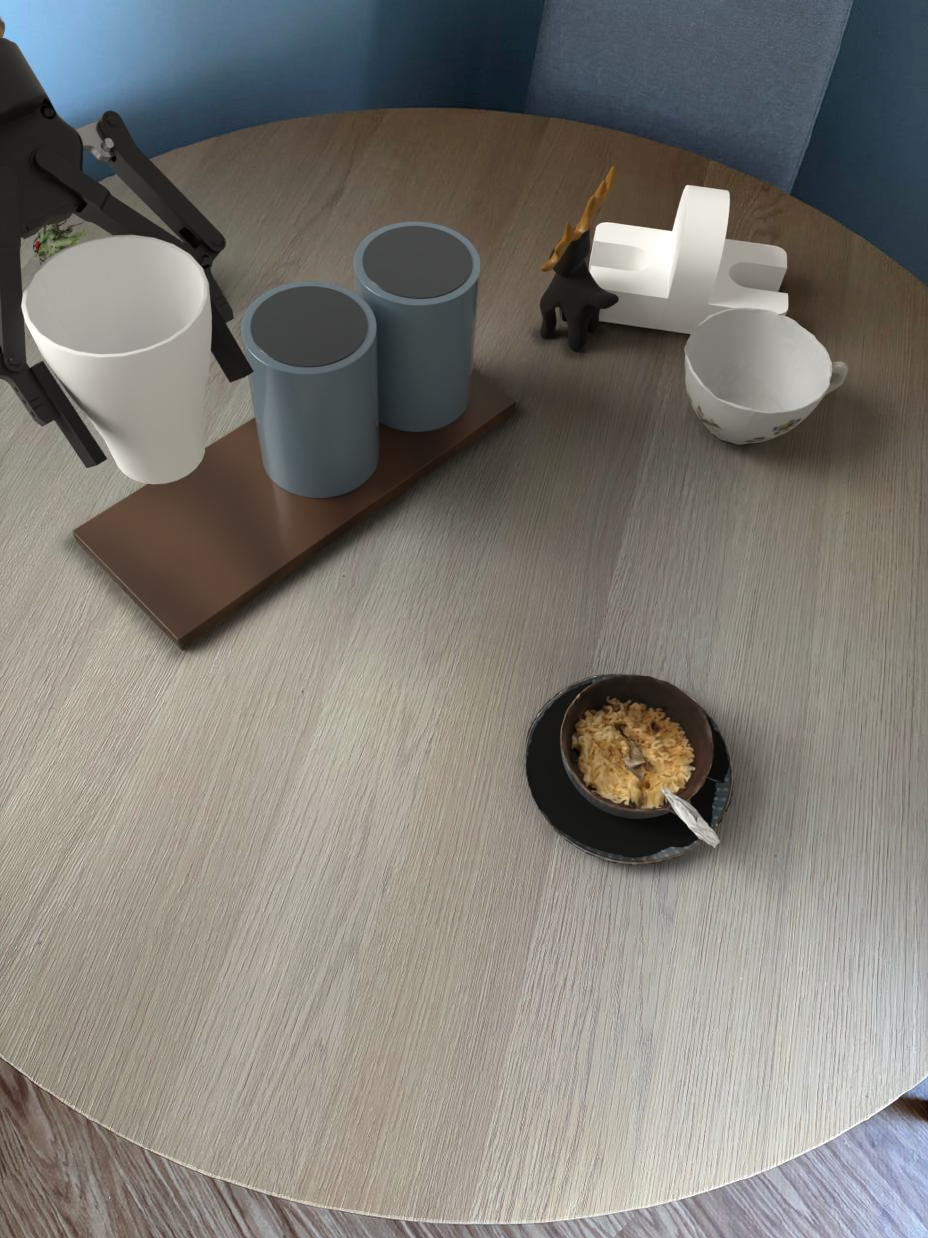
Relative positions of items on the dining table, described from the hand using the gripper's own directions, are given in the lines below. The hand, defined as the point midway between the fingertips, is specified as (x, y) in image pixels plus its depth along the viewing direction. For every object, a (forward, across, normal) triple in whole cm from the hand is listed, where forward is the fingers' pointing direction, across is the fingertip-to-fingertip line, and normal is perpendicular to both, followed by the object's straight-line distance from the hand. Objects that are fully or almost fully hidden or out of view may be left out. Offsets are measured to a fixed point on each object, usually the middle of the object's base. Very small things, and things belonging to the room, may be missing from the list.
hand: (172, 419), depth 66 cm
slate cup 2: (+10, -26, -17) cm, 32 cm away
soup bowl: (+37, -12, +9) cm, 40 cm away
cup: (+2, 0, -6) cm, 6 cm away
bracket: (+16, -56, -13) cm, 59 cm away
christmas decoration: (-8, -16, -37) cm, 41 cm away
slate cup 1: (+10, -15, -17) cm, 24 cm away
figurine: (+13, -43, -16) cm, 48 cm away
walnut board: (+11, -14, -18) cm, 25 cm away
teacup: (+26, -47, -2) cm, 54 cm away
